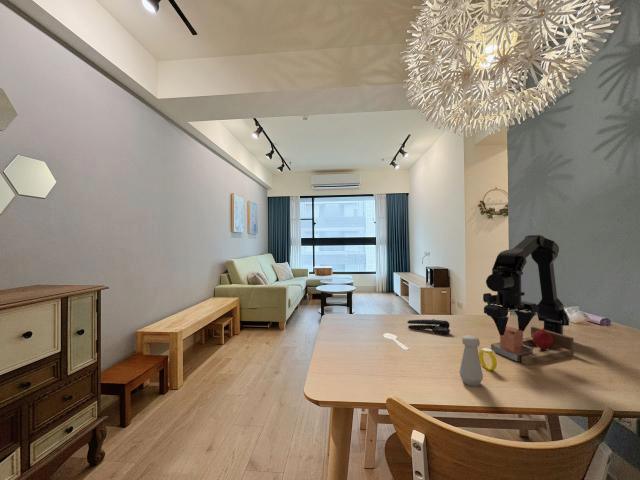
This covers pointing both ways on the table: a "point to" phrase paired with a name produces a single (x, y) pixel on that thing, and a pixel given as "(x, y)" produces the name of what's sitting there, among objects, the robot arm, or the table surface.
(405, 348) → the spoon
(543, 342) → the onion
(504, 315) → the robot arm
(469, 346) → the salt shaker
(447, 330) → the can opener
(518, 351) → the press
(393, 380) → the table surface
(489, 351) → the watch
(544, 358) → the bench
